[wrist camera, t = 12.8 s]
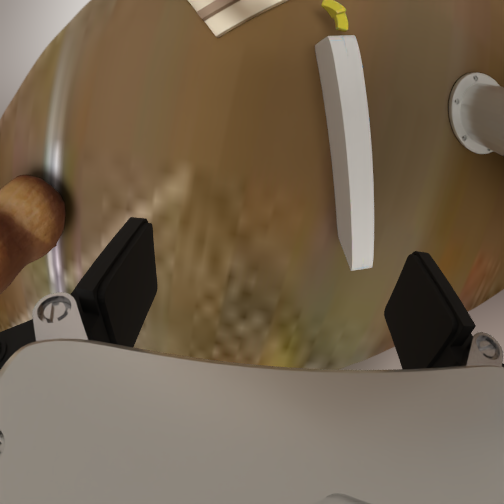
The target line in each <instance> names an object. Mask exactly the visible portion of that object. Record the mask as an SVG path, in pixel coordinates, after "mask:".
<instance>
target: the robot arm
mask: <svg viewBox="0 0 504 504" xmlns="http://www.w3.org/2000/svg"><path fill="white" fill-rule="evenodd" d="M449 118H450V123H451V126H452V129H453V132H454V134H455V135H456V137H457V139H458V140H459V141H460V143H461V144H462V145H463V146H464V147H466V148H467V149H469V150H470V151H472V152H475V153H477V154H488V153H491V152H493V151H494V152H496V153H498V154H500V155H502V156H504V87H500V85H499V84H498V83H497V82H496V81H495V80H494V79H493V78H491V77H490V76H488V75H486V74H483V73H474V72H472V73H468V74H465V75H464V76H462V77H461V78H460V79H459V80H458V81H457V82H456V84H455V85H454V87H453V89H452V91H451V94H450V99H449ZM156 292H157V275H156V265H155V254H154V241H153V227H152V224H151V223H148V221H147V219H144V218H134V217H131V218H130V219H129V220H128V221H127V222H126V223H125V224H124V226H123V227H122V228H121V229H120V230H119V232H118V233H117V234H116V235H115V237H114V238H113V239H112V240H111V241H110V243H109V244H108V245H107V246H106V248H105V249H104V250H103V251H102V253H101V254H100V255H99V257H98V258H97V259H96V260H95V262H94V263H93V264H92V266H91V267H90V268H89V270H88V271H87V272H86V274H85V275H84V276H83V278H82V279H81V280H80V282H79V283H78V285H77V286H76V287H75V289H74V291H73V292H72V293H71V295H70V294H67V293H64V292H57V293H52V294H49V295H47V296H45V297H43V298H42V299H41V300H39V301H38V303H37V304H36V305H35V307H34V309H33V319H32V320H30V321H27V322H25V323H22V324H20V325H17V326H15V327H12V328H10V329H7V330H5V331H2V332H0V504H504V364H503V363H502V361H503V351H502V348H501V346H500V345H499V343H498V342H497V341H496V340H495V339H494V338H493V337H492V336H491V335H489V334H487V333H483V332H479V333H476V334H475V335H474V336H472V334H471V332H472V331H473V329H474V328H475V324H474V322H473V321H472V319H471V318H470V316H469V314H468V312H467V310H466V309H465V307H464V305H463V304H462V302H461V301H460V299H459V297H458V296H457V294H456V293H455V291H454V290H453V288H452V287H451V285H450V283H449V282H448V280H447V279H446V277H445V276H444V274H443V273H442V272H441V270H440V269H439V267H438V266H437V264H436V263H435V261H434V260H433V259H432V257H431V256H430V254H428V253H424V252H418V251H415V252H413V253H412V254H410V255H409V256H408V258H407V260H406V262H405V265H404V267H403V270H402V272H401V274H400V277H399V279H398V281H397V284H396V286H395V288H394V290H393V293H392V295H391V297H390V299H389V301H388V303H387V305H386V308H385V311H384V316H385V319H386V322H387V325H388V328H389V330H390V333H391V336H392V339H393V342H394V345H395V348H396V351H397V353H398V356H399V359H400V363H401V366H402V370H328V369H304V368H287V367H274V366H262V365H251V364H241V363H232V362H223V361H215V360H207V359H200V358H193V357H186V356H180V355H174V354H167V353H161V352H155V351H150V350H144V349H139V348H133V347H134V344H135V342H136V339H137V337H138V335H139V332H140V330H141V327H142V325H143V323H144V320H145V318H146V316H147V313H148V311H149V309H150V306H151V304H152V302H153V300H154V297H155V295H156Z"/></svg>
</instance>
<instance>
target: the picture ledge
mask: <svg viewBox="0 0 504 504" xmlns="http://www.w3.org/2000/svg"><path fill="white" fill-rule="evenodd" d="M188 1H189V3H190V4H191V5H192V6H193V7H194V9H195V10H196V11H197V14H198V15H199V16H200V17H201V19H202V20H204V21H205V23H206V24H207V25H208V27H209V28H210V29H211V30H212V32H213V33H214V34H215V36H216V37H217V38H219V37H220V36H222V35H224V34H225V33H227V32H229V31H230V30H232V29H234V28H235V27H237V26H239V25H241V24H243V23H244V22H246V21H248V20H250V19H252V18H254V17H255V16H257V15H259V14H261V13H263V12H265V11H267V10H269V9H271V8H273V7H275V6H277V5H280V4H282V3H284V2H286V1H288V0H188Z"/></svg>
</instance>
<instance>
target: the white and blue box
mask: <svg viewBox="0 0 504 504" xmlns="http://www.w3.org/2000/svg"><path fill="white" fill-rule="evenodd" d="M321 6H322V7H323V8H324V9H325V10H326V11H327V12H328V13H329V14H330V16H331V18H334V20H335V23H336V29H337V30H340V31H343V32H346V31H347V30H348V19H347V16H346V14H345V12H346V9H345V8H344V7H343V6H342V5H341V4H339V3H338V2H336V1H334V0H323V2H322V5H321ZM315 52H316V58H317V63H318V69H319V75H320V80H321V86H322V92H323V99H324V105H325V112H326V119H327V127H328V134H329V142H330V151H331V160H332V170H333V180H334V191H335V203H336V217H337V230H338V237H339V240H340V243H341V245H342V248H343V251H344V253H345V256H346V259H347V262H348V264H349V267H350V270H351V271H353V270H359V269H361V270H362V269H366V268H372V265H373V254H374V186H373V163H372V147H371V134H370V123H369V121H370V119H369V113H368V104H367V96H366V88H365V81H364V74H363V65H362V62H361V56H360V51H359V47H358V43H357V40H356V38H355V36H354V35H341V36H327V37H325V38H324V39H323V40H321V41H320V42H319V43H317V44H316V45H315Z"/></svg>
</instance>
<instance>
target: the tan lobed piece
mask: <svg viewBox="0 0 504 504" xmlns="http://www.w3.org/2000/svg"><path fill="white" fill-rule="evenodd" d="M65 215H66V212H65V203H64V201H63V199H62V197H61V195H60V194H59V192H58V191H56V190H55V189H54V188H53V187H52V186H51V185H50V184H48V183H47V182H45V181H44V180H43V179H41V178H38V177H34V176H30V175H20V176H17V177H16V178H15V179H13V180H12V181H10V182H9V183H7V184H6V185H5V186H4V187H3V188H2V189H1V190H0V294H1V293H2V292H3V291H4V290H5V289H6V288H7V287H8V286H9V285H10V284H11V283H12V281H13V280H14V279H15V277H16V276H17V275H18V274H19V272H20V271H21V270H22V269H23V268H24V267H25V266H26V265H27V264H29V263H31V262H33V261H35V260H37V259H39V258H41V257H43V256H44V255H46V254H47V253H48V252H49V251H50V250H51V249H52V248H53V247H55V246H56V244H57V241H58V240H59V238H60V236H61V234H62V232H63V229H64V224H65Z"/></svg>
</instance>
